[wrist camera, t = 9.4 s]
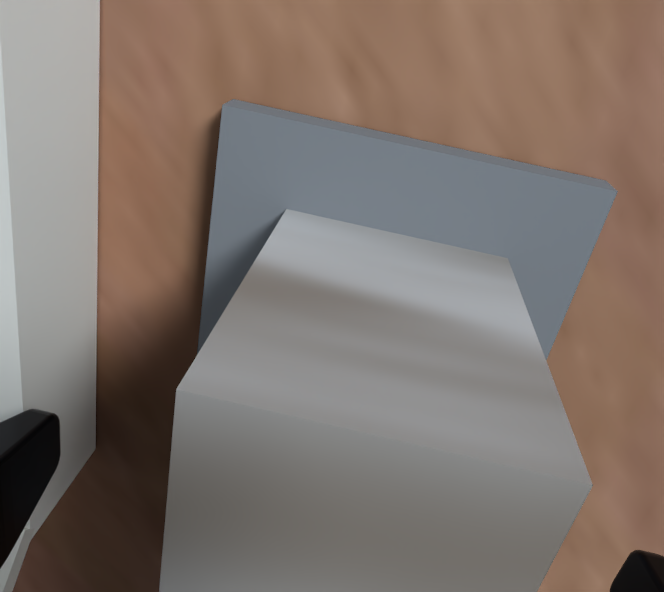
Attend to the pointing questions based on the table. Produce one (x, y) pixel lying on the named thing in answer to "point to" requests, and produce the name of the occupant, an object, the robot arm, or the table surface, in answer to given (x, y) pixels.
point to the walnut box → (369, 426)
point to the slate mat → (397, 203)
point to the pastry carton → (49, 231)
